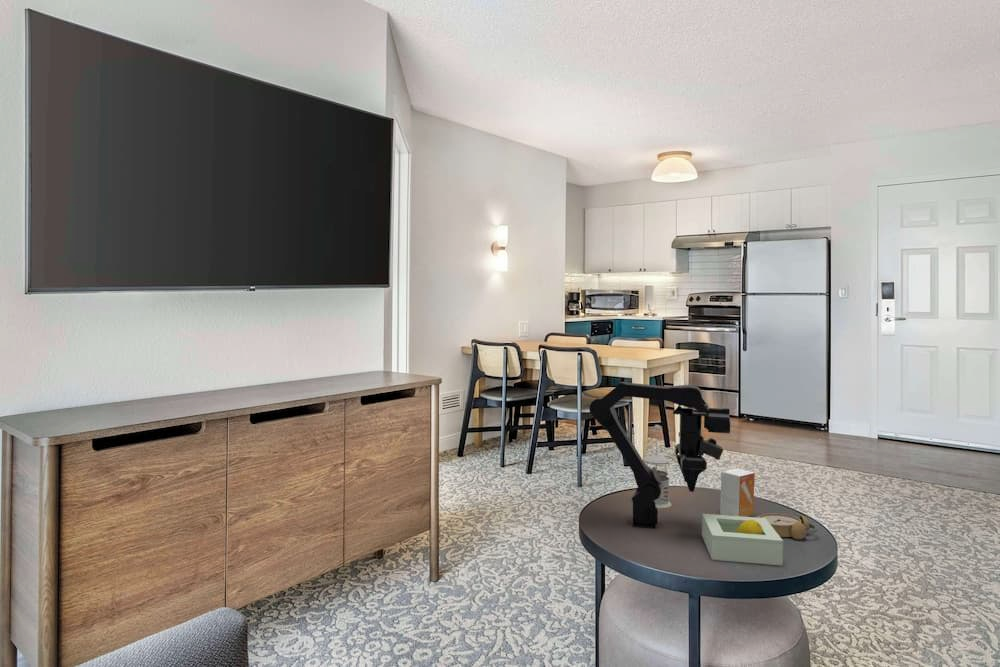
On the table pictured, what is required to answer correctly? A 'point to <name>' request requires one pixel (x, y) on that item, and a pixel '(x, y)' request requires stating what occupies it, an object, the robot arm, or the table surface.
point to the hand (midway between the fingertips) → (689, 486)
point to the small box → (737, 493)
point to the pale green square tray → (741, 540)
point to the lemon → (750, 527)
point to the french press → (657, 459)
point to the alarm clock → (790, 525)
